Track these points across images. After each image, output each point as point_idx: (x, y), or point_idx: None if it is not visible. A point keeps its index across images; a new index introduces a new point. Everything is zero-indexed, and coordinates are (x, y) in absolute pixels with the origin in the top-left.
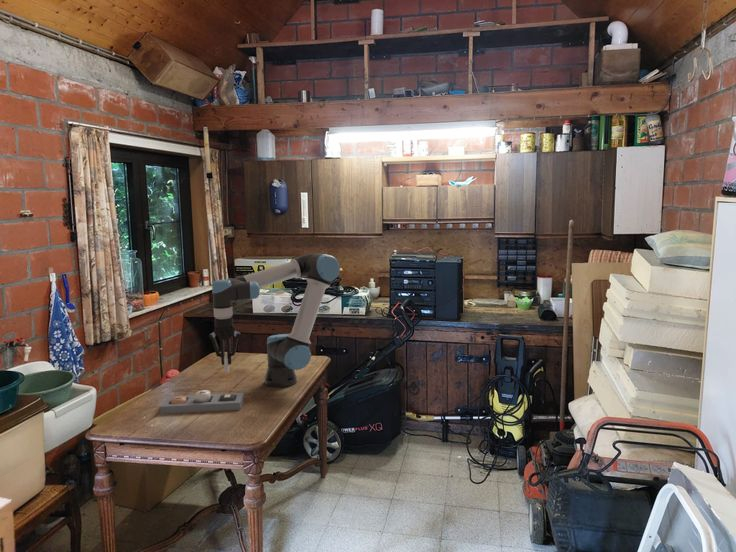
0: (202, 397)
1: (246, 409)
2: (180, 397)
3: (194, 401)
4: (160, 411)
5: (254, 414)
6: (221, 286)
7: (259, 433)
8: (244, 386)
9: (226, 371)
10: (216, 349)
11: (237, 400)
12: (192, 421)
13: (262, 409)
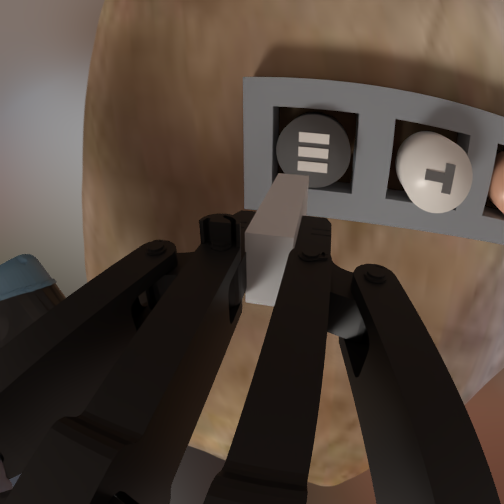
0: (437, 136)
1: (228, 81)
2: None
3: None
4: None
5: (190, 27)
6: None
7: None
8: (265, 326)
9: (292, 178)
10: (403, 347)
11: (260, 108)
12: (443, 8)
13: (165, 76)
